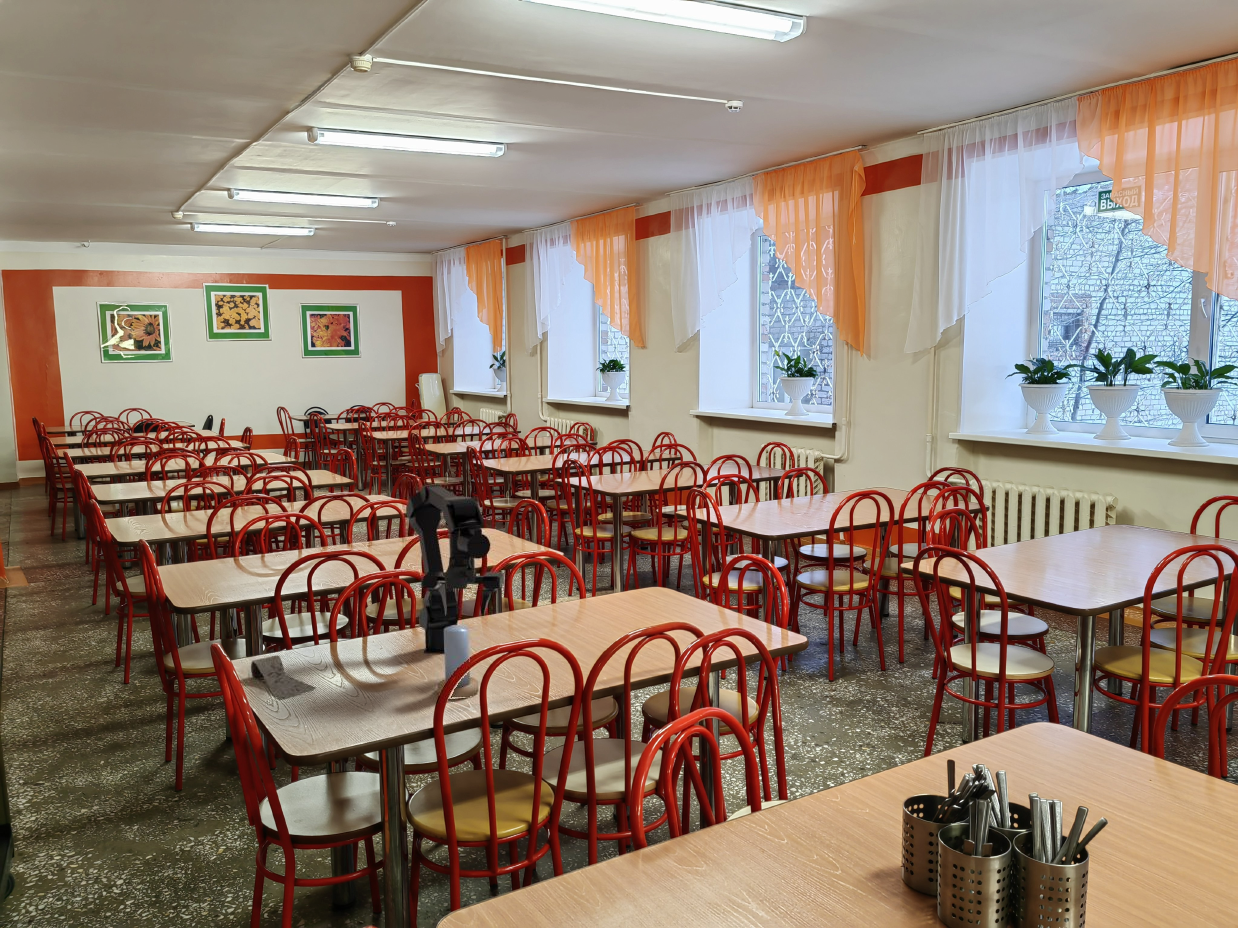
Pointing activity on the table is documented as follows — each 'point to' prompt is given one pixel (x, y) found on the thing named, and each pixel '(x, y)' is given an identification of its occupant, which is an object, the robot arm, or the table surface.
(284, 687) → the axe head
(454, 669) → the pale blue pillar candle
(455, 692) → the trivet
